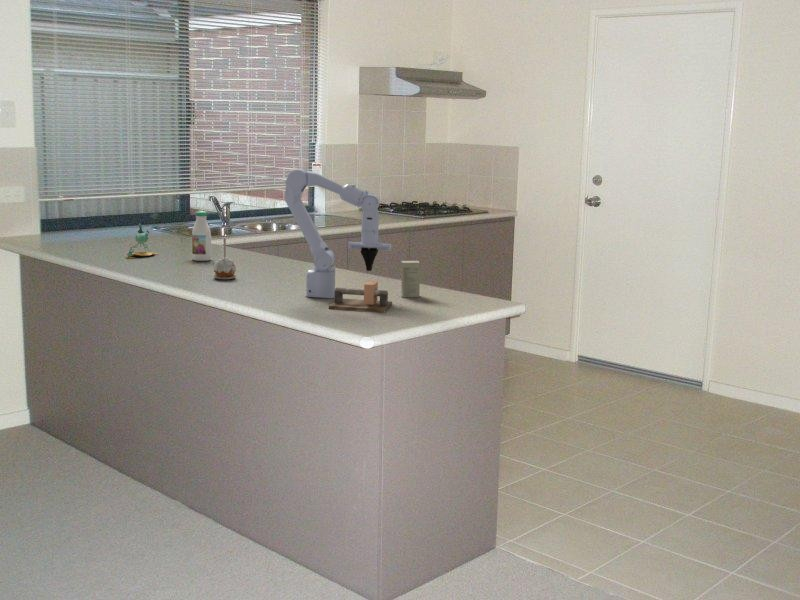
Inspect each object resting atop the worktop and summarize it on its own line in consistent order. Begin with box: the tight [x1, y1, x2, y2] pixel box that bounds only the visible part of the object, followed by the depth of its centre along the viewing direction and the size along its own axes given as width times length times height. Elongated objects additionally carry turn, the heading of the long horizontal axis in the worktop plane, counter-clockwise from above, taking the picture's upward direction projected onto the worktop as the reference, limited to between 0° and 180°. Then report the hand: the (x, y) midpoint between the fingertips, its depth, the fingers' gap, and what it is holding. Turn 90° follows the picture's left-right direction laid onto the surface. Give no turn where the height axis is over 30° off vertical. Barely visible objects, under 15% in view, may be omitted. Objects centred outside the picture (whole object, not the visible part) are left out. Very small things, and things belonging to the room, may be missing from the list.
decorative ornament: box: [213, 237, 237, 281], centre depth 346 cm, size 8×8×15 cm
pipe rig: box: [328, 287, 393, 313], centre depth 303 cm, size 18×13×6 cm
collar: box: [363, 280, 379, 305], centre depth 302 cm, size 3×6×6 cm, turn 169°
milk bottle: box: [191, 210, 212, 262], centre depth 387 cm, size 8×8×20 cm
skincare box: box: [401, 260, 421, 298], centre depth 322 cm, size 6×4×12 cm
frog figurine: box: [125, 223, 157, 260], centre depth 394 cm, size 10×18×15 cm, turn 144°
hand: (369, 270), depth 317 cm, fingers closed
